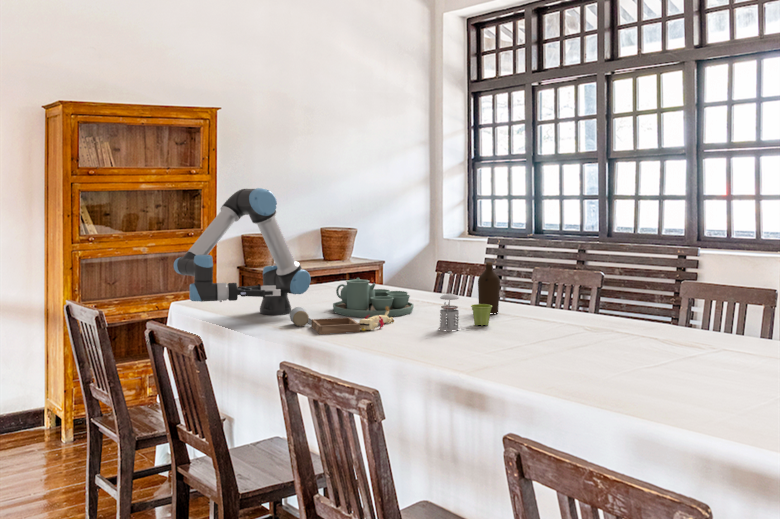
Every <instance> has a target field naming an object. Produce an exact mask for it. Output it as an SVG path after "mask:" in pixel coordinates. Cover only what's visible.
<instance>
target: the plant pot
mask: <svg viewBox="0 0 780 519" xmlns="http://www.w3.org/2000/svg"><path fill="white" fill-rule="evenodd" d="M470 307H471V311H472V313H473V314H472V316H473V322H474V323H473V324H474V325H475V326H476V325H481V326H483V325H487V326H489V324H490V311H491V307H492V305H487V304H479V303H478V304H477V303H476V304H471V305H470Z"/></svg>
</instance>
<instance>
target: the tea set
mask: <svg viewBox="0 0 780 519" xmlns="http://www.w3.org/2000/svg"><path fill="white" fill-rule="evenodd" d="M345 282H346V284H343V283H341V284H339V285H338V286H337V287H336V296H337V298H339V300H340V299H341V300H340V301H336V302H334V303H332V308H333V312H334V313H335V314H338V315H341V316H345V317H355V318H365V317H366V316H368V315H369V316H368V317H367V318H369V317H373V316H377V315H385V313H386V311H387V310H386V309H385V307H386V306H389V310H390V311H389V314H388V315H387V316H388V317H389V318H390V317H392V316H394V317H400V316H401V317H402V316H405V314H406V315H408V314H411V313H412V311H413V310H414V303H412V302H410V301H409V300H410V297H411V295H410V294H408V293H409V292H407V291H404V290H389V289H387V288H386V289H385V288H375V287H376V283H375V282H373V283H372V284H371V285H370V280H368V279H360V277H356V279H355V278H354V279H349V280H345ZM341 287H342V288H341ZM340 288H341V289H340ZM339 289H340V294H339Z"/></svg>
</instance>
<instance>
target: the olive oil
mask: <svg viewBox="0 0 780 519" xmlns="http://www.w3.org/2000/svg"><path fill="white" fill-rule="evenodd" d="M493 264H494V263H493V261H485V270H483V272H482V273H481V274H480V275H479V276H478V280H477V290H478V294H477V296H478V298H477V299H478V304H487V305H492V307H491V311H490V313H497V312H498V313H499V307H500V306H499V305H500V304H499V303H500V302H499V301H500V289H501V288H500V287H501V280H500V277H499V275H498V274H497V273H496V272H495V271H494V269H493V267H494V265H493Z"/></svg>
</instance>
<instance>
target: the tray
mask: <svg viewBox="0 0 780 519" xmlns="http://www.w3.org/2000/svg"><path fill="white" fill-rule="evenodd" d="M311 319H312V318H311ZM311 328H312V329H313V330H314V331H315V330H316V331H315V332H316V333H317V334H319V335H331V334H330V333H336V334H347V333H346V332H353V333H361V329H360V324H359V322H357V321H356V320H354V319H353V318H351V316H348V317H333V318H331V317H330V318H314V319H312V325H311Z"/></svg>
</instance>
